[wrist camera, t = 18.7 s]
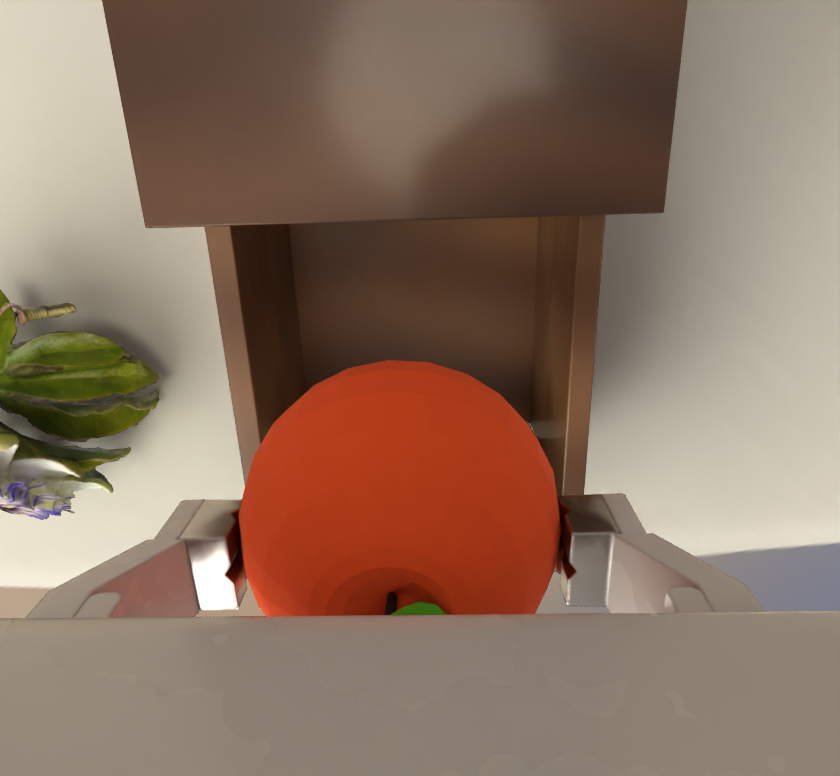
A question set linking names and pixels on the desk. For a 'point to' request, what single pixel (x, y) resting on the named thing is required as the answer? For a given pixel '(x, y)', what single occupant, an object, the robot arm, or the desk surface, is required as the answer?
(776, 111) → the desk surface
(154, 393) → the passion flower
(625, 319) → the desk surface
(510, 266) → the drawer
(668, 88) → the cabinet
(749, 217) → the desk surface
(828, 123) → the desk surface
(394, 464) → the clementine
